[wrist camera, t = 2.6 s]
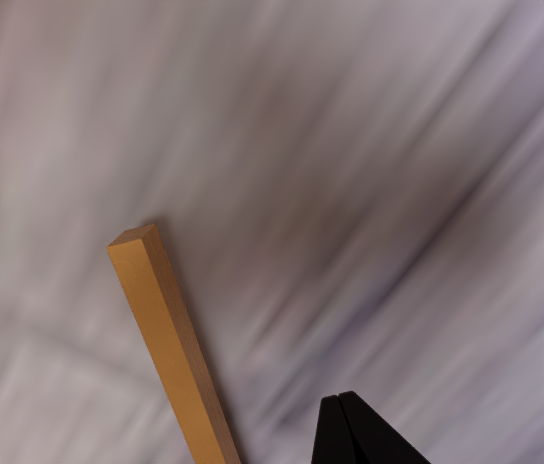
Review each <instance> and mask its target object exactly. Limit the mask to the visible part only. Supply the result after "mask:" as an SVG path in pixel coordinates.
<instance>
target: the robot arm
mask: <svg viewBox="0 0 544 464" xmlns="http://www.w3.org/2000/svg"><path fill="white" fill-rule="evenodd" d="M311 464H431V463H430V462H429V461H428V460H427V459H426V458H425V457H424V456H422V455H421V454H420V453H419V452H418V451H417V450H416V449H415V448H414V447H413V446H412V445H411V444H410V443H409V442H408V441H406V440H405V439H404V438H403V437H402V436H401V435H400V434H399V433H398V432H397V431H396V430H395V429H394V428H393V427H391V426H390V425H389V424H388V423H387V422H386V421H385V420H384V419H383V418H382V417H381V416H380V415H379V414H378V413H377V412H375V411H374V410H373V409H372V408H371V407H370V406H369V405H368V404H367V403H366V402H365V401H364V400H363V399H362V398H360V397H359V396H358V395H357V394H356V393H355V392H354V391H348V392H344V393H340V394H339V395H338V396H337V395H332V396H328V397H324V398H322V400H321V404H320V410H319V417H318V423H317V429H316V435H315V442H314V448H313V454H312V461H311Z"/></svg>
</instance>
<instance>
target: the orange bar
mask: <svg viewBox="0 0 544 464" xmlns="http://www.w3.org/2000/svg"><path fill="white" fill-rule="evenodd" d="M106 249H107V251H108V253H109V256H110V258H111V261H112V263H113V265H114V268H115V270H116V273H117V275H118V278H119V280H120V282H121V285H122V287H123V290H124V292H125V294H126V297H127V299H128V302H129V304H130V307H131V309H132V311H133V314H134V316H135V319H136V321H137V324H138V326H139V328H140V331H141V333H142V336H143V338H144V340H145V343H146V345H147V348H148V350H149V353H150V355H151V357H152V360H153V362H154V365H155V367H156V369H157V372H158V374H159V377H160V379H161V382H162V384H163V386H164V389H165V391H166V394H167V396H168V398H169V401H170V403H171V406H172V408H173V411H174V413H175V415H176V418H177V420H178V423H179V425H180V427H181V430H182V432H183V435H184V437H185V440H186V442H187V444H188V447H189V449H190V452H191V454H192V457H193V459H194V461H195V464H241V462H240V459H239V456H238V453H237V451H236V448H235V445H234V442H233V439H232V436H231V434H230V431H229V428H228V425H227V422H226V420H225V417H224V414H223V411H222V408H221V406H220V403H219V400H218V397H217V394H216V392H215V389H214V386H213V383H212V380H211V377H210V375H209V372H208V369H207V366H206V363H205V361H204V358H203V355H202V352H201V349H200V347H199V344H198V341H197V338H196V335H195V333H194V330H193V327H192V324H191V321H190V318H189V316H188V313H187V310H186V307H185V304H184V302H183V299H182V296H181V293H180V290H179V288H178V285H177V282H176V279H175V276H174V274H173V271H172V268H171V265H170V262H169V259H168V257H167V254H166V251H165V248H164V245H163V243H162V240H161V237H160V234H159V231H158V229H157V226H156V223H155V224H151V225H147V226H143V227H139V228H134V229H130V230H126V231H124V232H123V233H122V234H121V235H120V236H119V237H117V238H116V239H115V240H114V241H113V242H112V243H111V244H109V245H108V246H107V247H106Z"/></svg>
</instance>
